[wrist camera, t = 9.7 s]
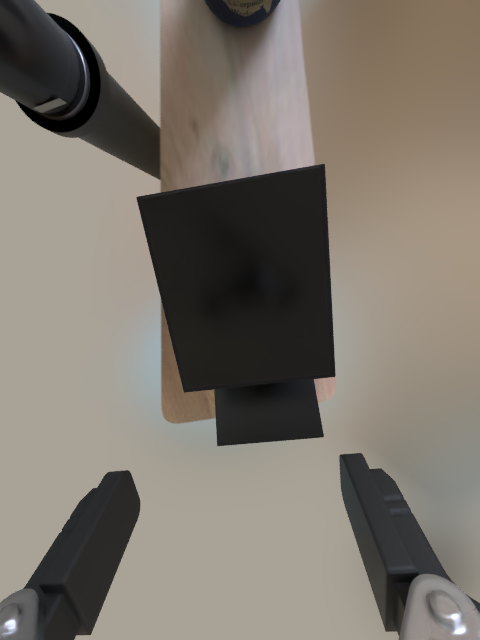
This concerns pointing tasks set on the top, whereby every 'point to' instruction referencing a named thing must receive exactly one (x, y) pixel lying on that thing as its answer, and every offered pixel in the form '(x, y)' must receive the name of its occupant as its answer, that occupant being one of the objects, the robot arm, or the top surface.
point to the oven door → (267, 413)
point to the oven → (245, 278)
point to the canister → (242, 10)
